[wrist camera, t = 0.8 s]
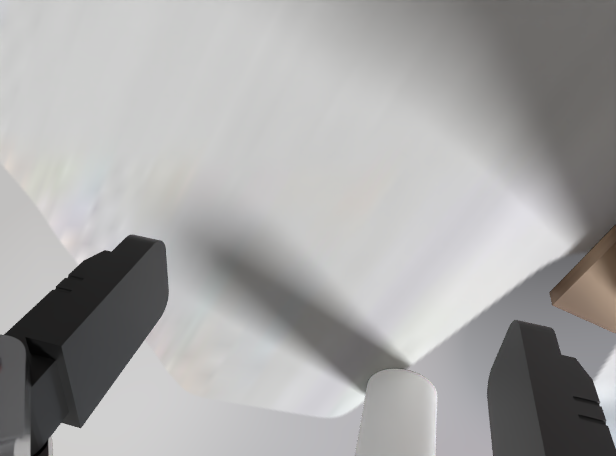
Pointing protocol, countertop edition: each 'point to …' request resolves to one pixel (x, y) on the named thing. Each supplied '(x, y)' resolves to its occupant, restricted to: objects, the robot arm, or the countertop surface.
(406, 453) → the cylindrical container
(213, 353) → the countertop surface
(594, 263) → the stand
